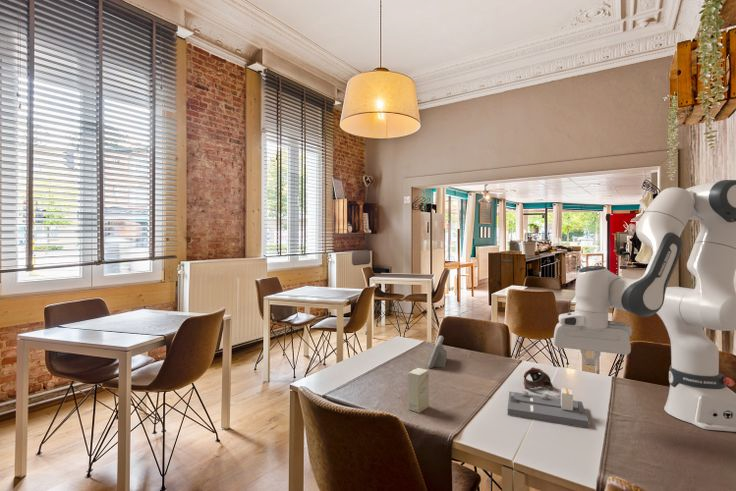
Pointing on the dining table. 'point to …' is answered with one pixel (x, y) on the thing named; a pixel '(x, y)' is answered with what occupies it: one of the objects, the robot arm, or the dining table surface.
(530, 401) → the console
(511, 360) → the dining table surface
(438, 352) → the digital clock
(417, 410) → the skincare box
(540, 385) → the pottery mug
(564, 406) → the fader tab
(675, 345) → the robot arm
